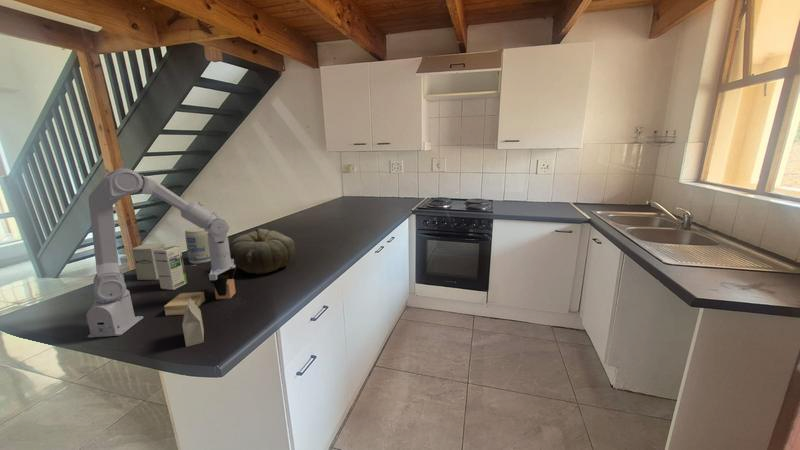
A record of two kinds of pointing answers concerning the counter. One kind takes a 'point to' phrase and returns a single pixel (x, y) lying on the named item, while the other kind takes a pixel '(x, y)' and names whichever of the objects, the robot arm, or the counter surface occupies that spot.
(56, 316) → the counter surface
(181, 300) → the beech block
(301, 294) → the counter surface
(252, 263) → the gourd
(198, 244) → the supplement tub
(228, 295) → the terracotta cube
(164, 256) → the syrup box
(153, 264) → the supplement box
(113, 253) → the robot arm
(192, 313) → the tea bag
